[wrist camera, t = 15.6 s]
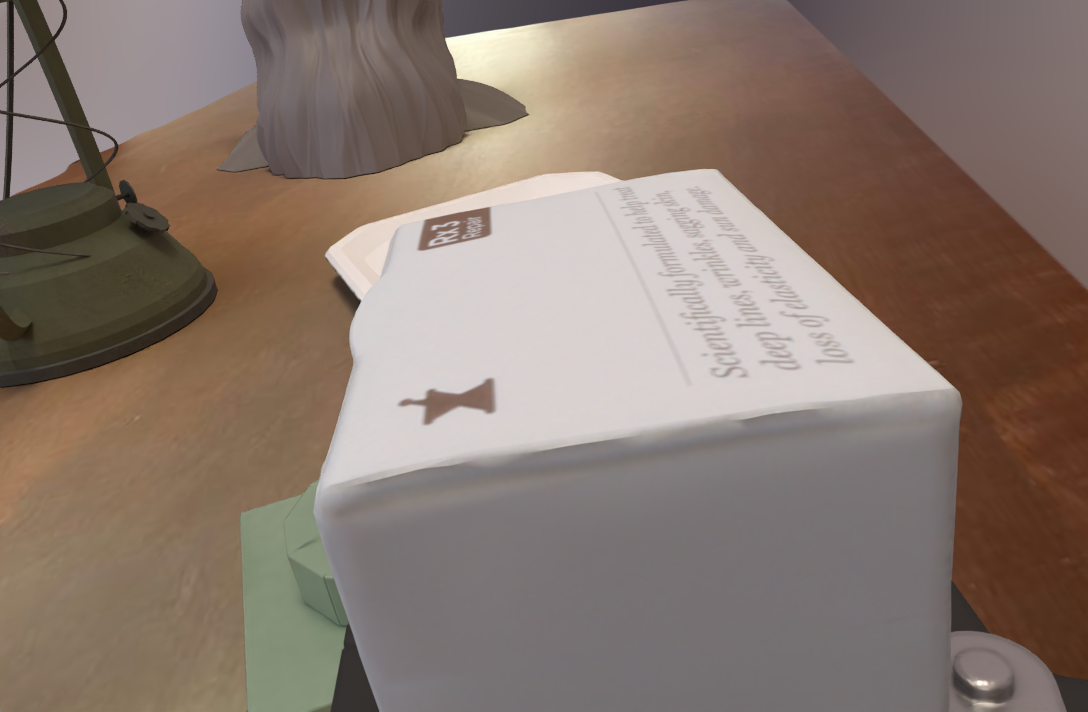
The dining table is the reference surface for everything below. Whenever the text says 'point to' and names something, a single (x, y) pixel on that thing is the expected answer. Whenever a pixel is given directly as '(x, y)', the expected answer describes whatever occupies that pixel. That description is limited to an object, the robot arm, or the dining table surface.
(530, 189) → the plate
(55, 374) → the lantern
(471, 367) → the cosmetic box
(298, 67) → the bust
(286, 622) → the green base with knob
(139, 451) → the dining table surface
